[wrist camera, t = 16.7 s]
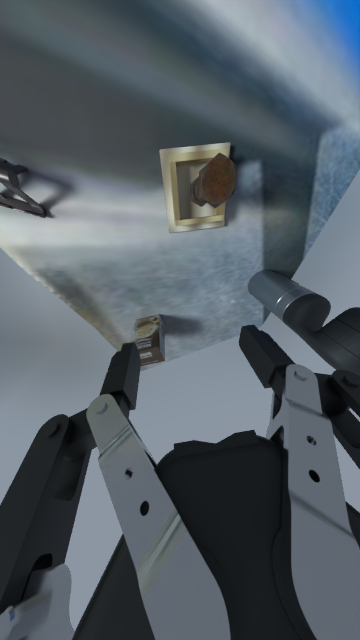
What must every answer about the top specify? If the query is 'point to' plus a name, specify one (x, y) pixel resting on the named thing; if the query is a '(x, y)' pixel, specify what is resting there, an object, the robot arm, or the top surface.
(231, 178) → the bolt
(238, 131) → the top surface
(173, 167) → the board
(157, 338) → the coffee box
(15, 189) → the portable electronic device stand
